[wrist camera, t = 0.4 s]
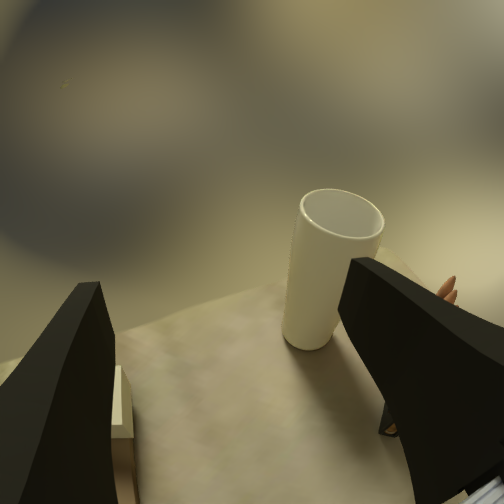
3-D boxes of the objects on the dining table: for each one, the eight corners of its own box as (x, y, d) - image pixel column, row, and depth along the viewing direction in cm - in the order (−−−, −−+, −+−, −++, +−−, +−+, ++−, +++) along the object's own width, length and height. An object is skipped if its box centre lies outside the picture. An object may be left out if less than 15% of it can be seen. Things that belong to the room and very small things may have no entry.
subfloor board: (149, 556, 15) (144, 558, 14) (28, 541, 12) (18, 539, 11) (130, 388, 26) (125, 380, 25) (29, 387, 24) (21, 380, 23)
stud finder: (133, 437, 21) (121, 423, 19) (77, 437, 20) (59, 423, 18) (131, 384, 25) (120, 364, 23) (79, 386, 24) (63, 366, 22)
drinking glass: (299, 370, 29) (343, 252, 20) (260, 322, 34) (280, 197, 24) (349, 339, 32) (403, 224, 23) (310, 298, 37) (343, 181, 27)
